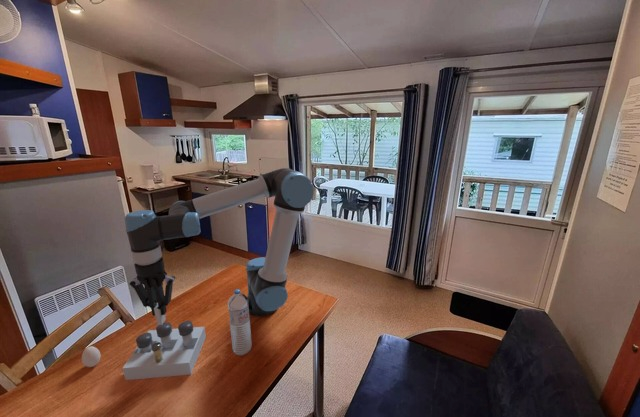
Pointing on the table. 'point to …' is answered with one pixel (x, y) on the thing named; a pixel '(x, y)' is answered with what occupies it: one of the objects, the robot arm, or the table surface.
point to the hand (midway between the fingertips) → (161, 322)
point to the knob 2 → (186, 332)
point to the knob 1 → (144, 342)
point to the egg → (90, 356)
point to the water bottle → (239, 323)
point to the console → (166, 357)
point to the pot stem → (157, 352)
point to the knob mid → (165, 334)
